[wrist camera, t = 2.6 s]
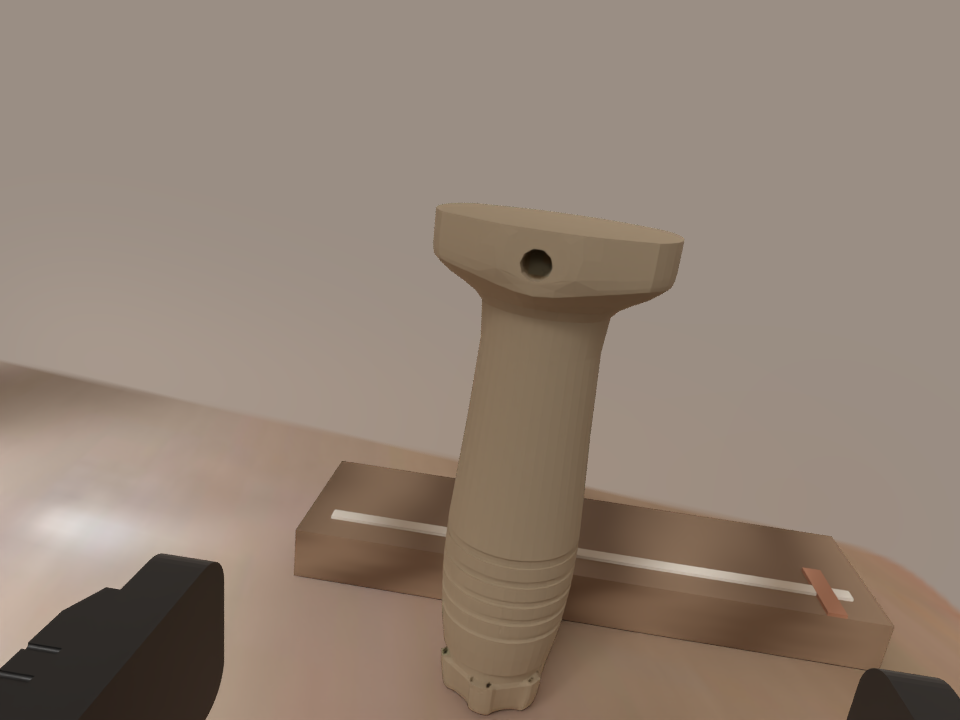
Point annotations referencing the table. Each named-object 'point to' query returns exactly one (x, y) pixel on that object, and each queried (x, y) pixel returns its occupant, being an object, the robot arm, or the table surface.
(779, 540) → the walnut board
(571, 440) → the handle
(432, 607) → the table surface
